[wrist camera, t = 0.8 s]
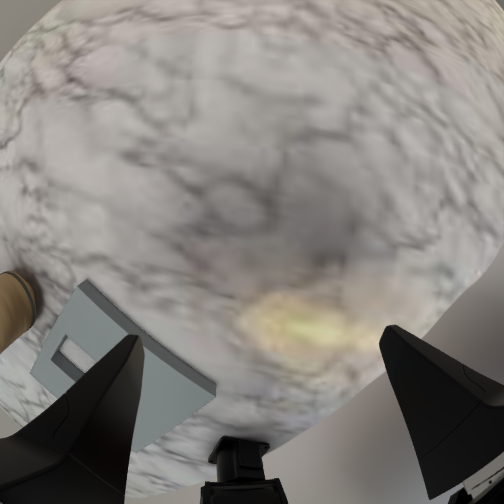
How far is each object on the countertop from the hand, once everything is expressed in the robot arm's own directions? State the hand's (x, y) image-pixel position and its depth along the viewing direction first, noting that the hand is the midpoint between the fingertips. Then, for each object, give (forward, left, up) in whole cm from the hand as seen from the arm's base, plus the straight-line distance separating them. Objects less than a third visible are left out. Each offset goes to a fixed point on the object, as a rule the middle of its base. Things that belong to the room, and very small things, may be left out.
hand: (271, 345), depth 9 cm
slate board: (-18, +8, -14) cm, 24 cm away
